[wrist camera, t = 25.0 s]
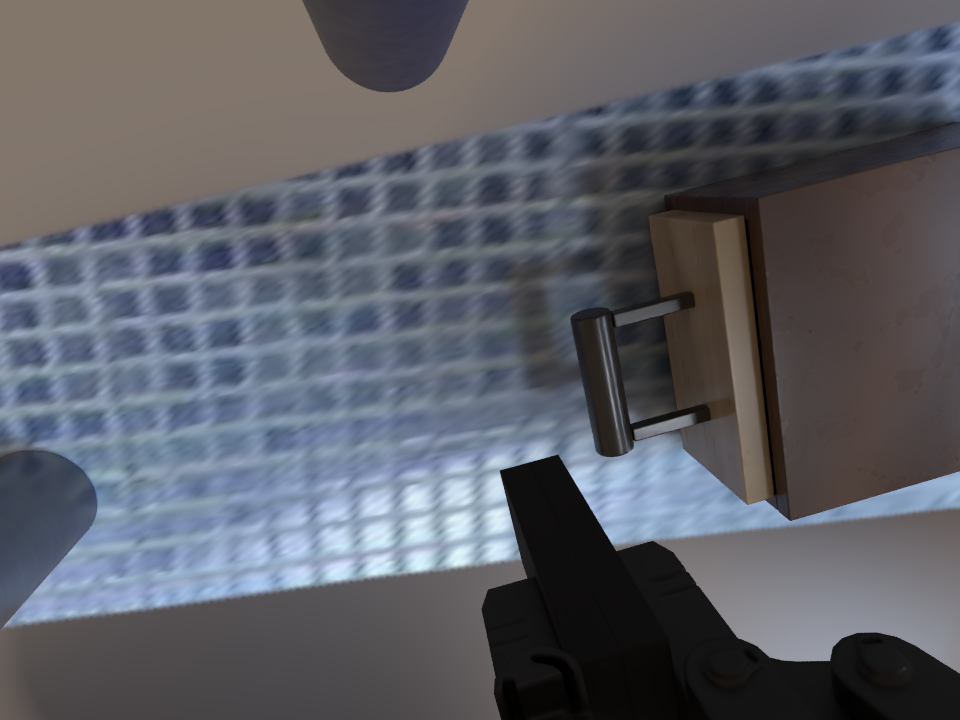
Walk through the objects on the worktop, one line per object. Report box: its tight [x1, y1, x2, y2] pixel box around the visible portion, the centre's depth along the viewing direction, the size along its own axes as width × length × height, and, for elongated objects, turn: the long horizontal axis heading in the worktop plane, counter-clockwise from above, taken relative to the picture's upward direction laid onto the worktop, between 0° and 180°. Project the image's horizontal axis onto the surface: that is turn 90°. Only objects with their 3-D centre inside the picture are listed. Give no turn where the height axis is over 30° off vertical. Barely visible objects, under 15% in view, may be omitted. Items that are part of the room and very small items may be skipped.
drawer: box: [570, 210, 774, 505], centre depth 27 cm, size 18×11×6 cm, turn 103°
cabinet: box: [664, 122, 960, 521], centre depth 27 cm, size 15×13×8 cm
